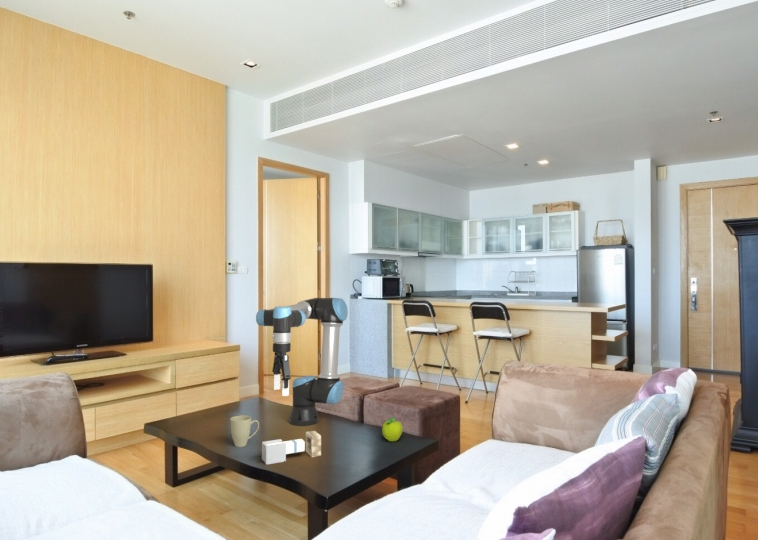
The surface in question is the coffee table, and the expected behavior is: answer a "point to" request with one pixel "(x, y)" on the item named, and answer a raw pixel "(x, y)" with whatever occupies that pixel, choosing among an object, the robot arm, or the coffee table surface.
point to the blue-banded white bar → (293, 445)
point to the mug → (241, 429)
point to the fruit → (392, 429)
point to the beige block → (313, 443)
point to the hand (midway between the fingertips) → (280, 392)
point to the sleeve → (273, 452)
